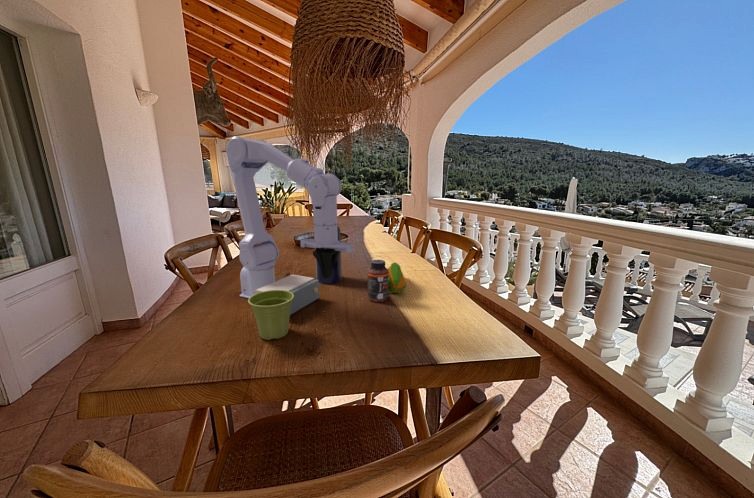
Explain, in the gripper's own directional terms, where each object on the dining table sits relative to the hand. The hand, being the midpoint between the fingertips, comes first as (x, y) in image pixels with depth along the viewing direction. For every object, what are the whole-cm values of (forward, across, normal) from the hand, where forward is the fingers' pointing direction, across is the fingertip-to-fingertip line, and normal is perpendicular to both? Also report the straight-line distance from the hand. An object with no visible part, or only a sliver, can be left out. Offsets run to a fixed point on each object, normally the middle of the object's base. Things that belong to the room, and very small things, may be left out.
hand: (327, 276), depth 76 cm
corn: (+10, +9, +24) cm, 27 cm away
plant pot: (+10, -4, -15) cm, 18 cm away
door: (+9, -7, -2) cm, 12 cm away
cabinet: (+9, -12, -1) cm, 16 cm away
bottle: (+10, -14, +21) cm, 26 cm away
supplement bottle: (+10, +9, +13) cm, 18 cm away
